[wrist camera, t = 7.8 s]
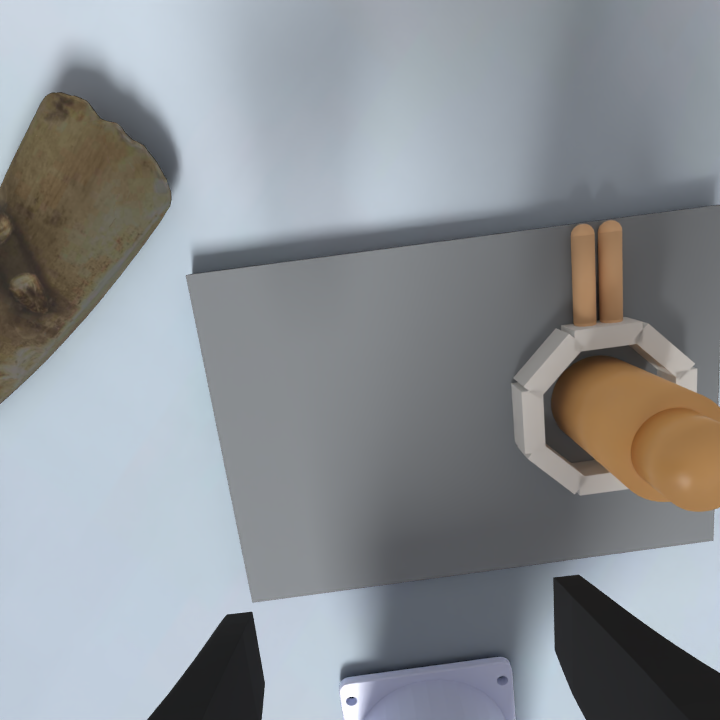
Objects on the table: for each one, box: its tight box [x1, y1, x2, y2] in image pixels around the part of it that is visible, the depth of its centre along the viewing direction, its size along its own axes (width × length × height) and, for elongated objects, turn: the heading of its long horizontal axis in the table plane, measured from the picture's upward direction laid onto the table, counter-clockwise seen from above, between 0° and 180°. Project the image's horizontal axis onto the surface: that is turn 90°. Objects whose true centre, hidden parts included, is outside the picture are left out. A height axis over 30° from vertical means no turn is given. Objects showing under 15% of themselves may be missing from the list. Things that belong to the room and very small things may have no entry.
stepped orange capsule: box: [551, 355, 720, 512], centre depth 18 cm, size 4×4×6 cm
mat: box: [186, 205, 720, 603], centre depth 21 cm, size 14×20×2 cm
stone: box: [0, 92, 171, 404], centre depth 19 cm, size 13×5×2 cm, turn 145°
